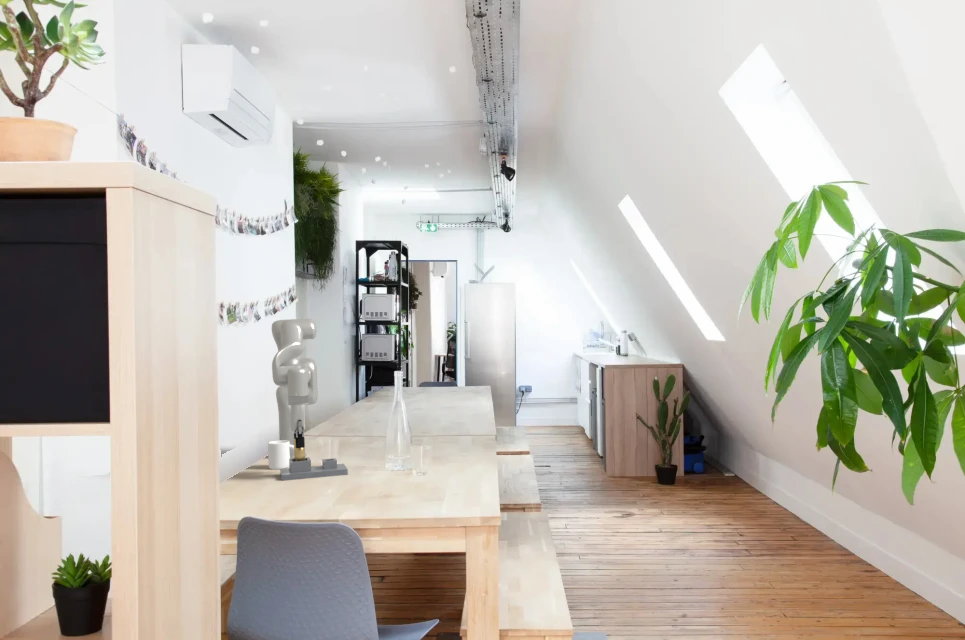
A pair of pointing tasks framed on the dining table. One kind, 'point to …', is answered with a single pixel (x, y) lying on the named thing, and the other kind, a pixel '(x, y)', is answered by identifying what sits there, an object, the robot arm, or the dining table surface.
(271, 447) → the mug
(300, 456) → the pipe stub
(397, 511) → the dining table surface
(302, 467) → the fitting block
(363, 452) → the dining table surface
